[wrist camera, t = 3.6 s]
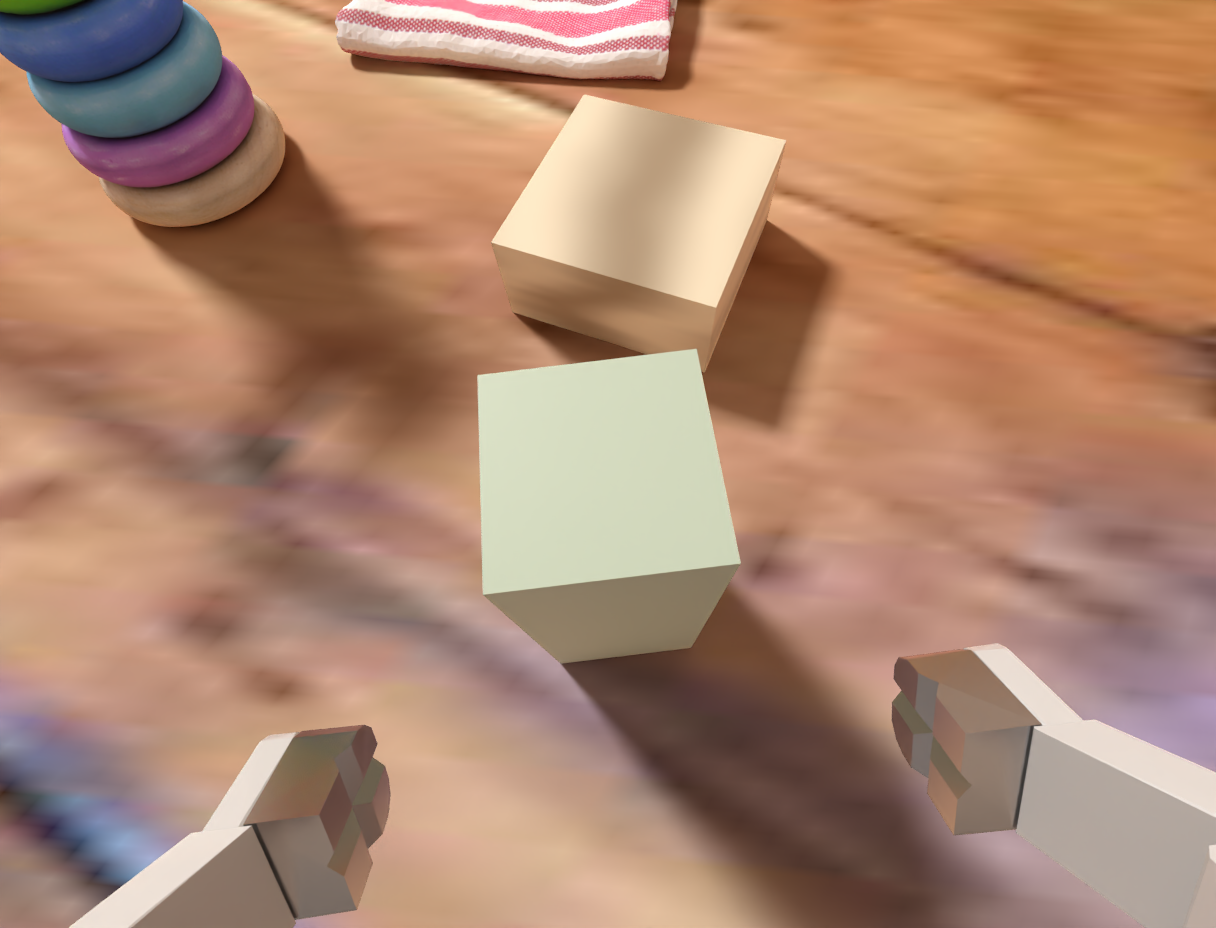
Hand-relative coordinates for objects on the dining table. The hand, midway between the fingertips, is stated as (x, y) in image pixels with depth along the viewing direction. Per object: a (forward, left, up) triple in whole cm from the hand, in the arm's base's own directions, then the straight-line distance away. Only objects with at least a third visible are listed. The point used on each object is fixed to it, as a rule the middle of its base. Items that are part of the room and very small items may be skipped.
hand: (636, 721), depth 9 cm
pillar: (-2, +4, -9) cm, 10 cm away
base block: (-5, +17, -9) cm, 20 cm away
